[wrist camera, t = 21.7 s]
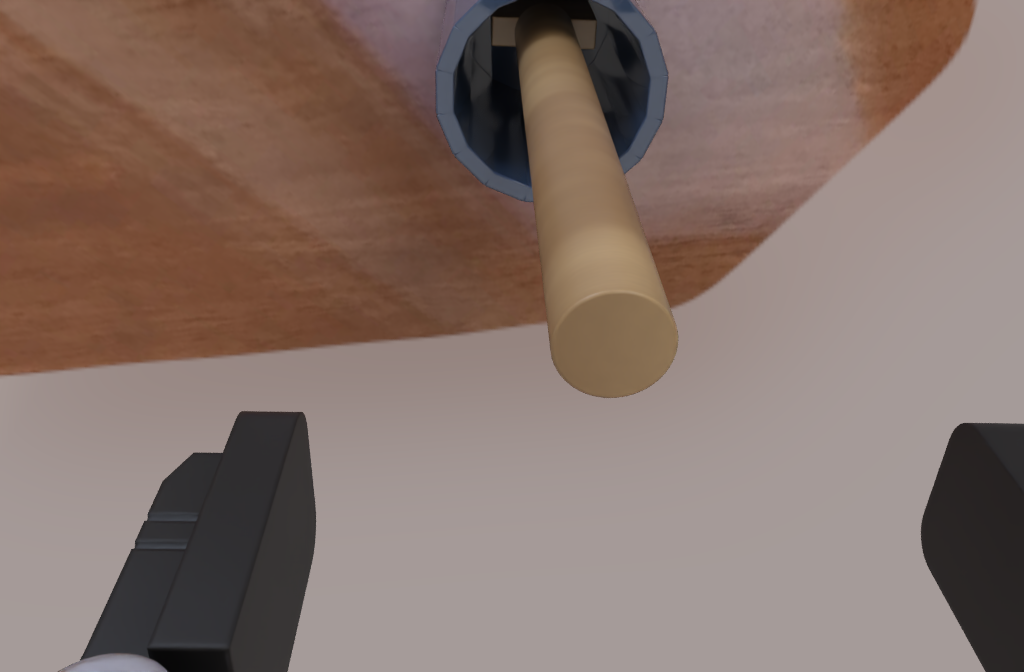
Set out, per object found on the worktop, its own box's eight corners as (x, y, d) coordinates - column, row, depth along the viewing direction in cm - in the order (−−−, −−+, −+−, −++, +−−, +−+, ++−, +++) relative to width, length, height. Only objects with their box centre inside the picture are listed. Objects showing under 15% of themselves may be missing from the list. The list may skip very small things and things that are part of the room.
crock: (628, -78, 32) (681, -24, 24) (612, 100, 35) (653, 205, 27) (447, -84, 32) (434, -31, 23) (448, 96, 35) (436, 201, 26)
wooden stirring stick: (583, -28, 32) (737, 293, 13) (579, 26, 33) (717, 401, 14) (491, -31, 32) (503, 287, 13) (489, 23, 33) (498, 397, 13)
